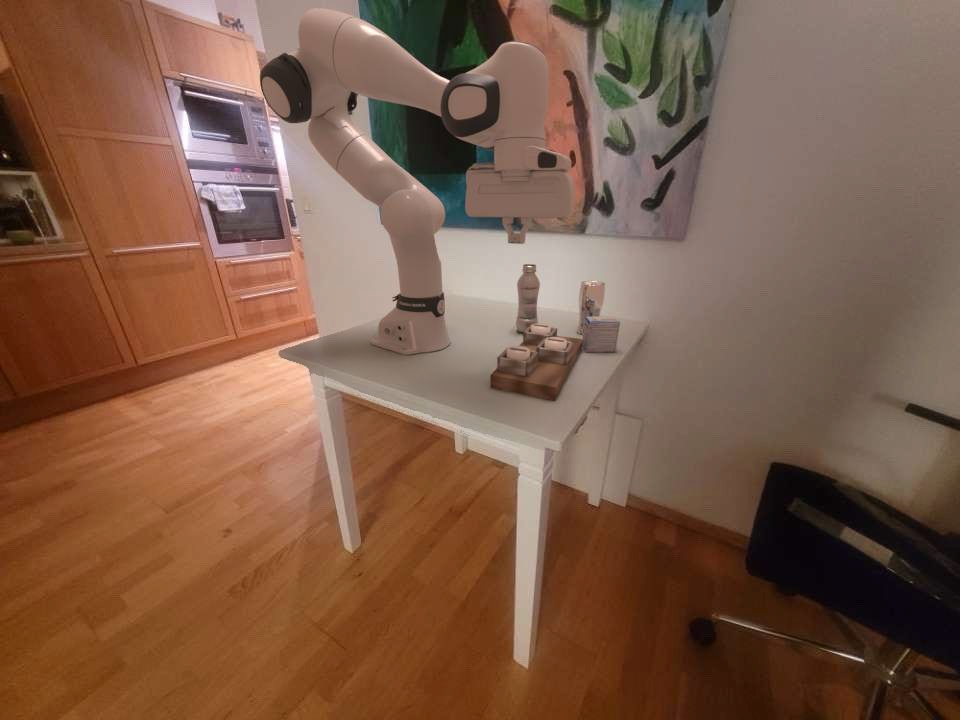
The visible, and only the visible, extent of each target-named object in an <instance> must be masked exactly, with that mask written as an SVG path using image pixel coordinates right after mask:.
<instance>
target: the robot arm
mask: <svg viewBox="0 0 960 720" xmlns="http://www.w3.org/2000/svg"><path fill="white" fill-rule="evenodd" d="M299 21H300V22H299V24H298V33H297V34H298V43H299V48H296V49H295V50H293V51H290V52H287V53H286V52H283V53H282V54H280V55H278V56H275V57H274V58H272V59H271V60H269V62H267V63H266V64H265V65H264V66H263V67H262V69H261V71H260V73H259V84H260V89H261V94H263V95H262V96H263V97H264V100H265V102H266V103H267V104H268V106H269V108H270V109H271V110H272V111H273V112H274V114H276V116H278V117H279V118H280V119H281V120H282V121H284V122H286V123H287V124H301V123H306V122H308V121H309V120H310V121H309V123H308V126H307V127H308V128H307V133H308V134H307V135H308V138H309V141H310V142H311V144H312V145H313V147H314V149H316V151H317V152H318V153H319V155H320V156H321V157H322V158H323V159H324V160H325V162H326V163H327V164H328V165H329V166H330V167H331V168H332V169H333V170H334V171H335V172H336V173H337V175H339V176H340V177H341V178H342V179H344V180H345V181H346V182H347V183H348V184H349V186H351V187H352V188H353V189H354V190H356V192H358V193H359V195H361V196H362V197H363V198H364V199H366V200H367V201H369V202H371V203H373V204H374V205H376V206H377V207H379V208H380V220H381V224H382V226H383V227H384V229H385V230H386V232H387V234H388V236H389V240H390V242H391V246H392V249H393V251H394V257H395V261H396V265H397V272H398V273H397V274H398V281H399V291H400V292H399V294H397V295H394V296H393V297H391V299H393V300H391V301H392V302H396V304H395V307H394V308H392V310H390V311H389V312H388V313H387V314H386V315H384V316H383V317H382V318H381V319H380V320H379V323H378V327H377V331H378V332H377V334H375V335H374V336H373V337H372V338H371V339H370V344H371V345H373V346H376V347H380V348H382V349H385V350H389V351H392V352H394V353H399V354H402V355H406V356H410V355H413V354H414V355H415V354H420V353H431V352H436V351H440V350H442V349H445V348H447V347H448V346H449V345H450V344H451V343H452V342H451V339H450V336H449V333H448V329H447V324H446V318H445V313H446V311H445V309H446V304H445V301H446V300H445V293H444V292H443V278H442V277H443V276H442V275H443V274H442V262H441V259H440V256H439V253H438V248H437V244H436V238H435V234H437V233H438V232H439V231H440V229H441V228H442V226H443V225H444V222H445V221H446V220H445V219H446V210H445V209H446V208H445V206H444V204H443V203H442V201H441V200H440V199H439V198H438V196H436V195H435V194H434V193H433V192H432V191H430V190H429V189H428V188H427V187H426V186H425V185H423V183H421V182H420V181H419V180H417V178H416V177H414V176H413V175H411V174H410V172H408V171H407V170H405V169H404V168H403V167H401V166H400V165H399V164H398V163H397V162H395V160H393V159H392V158H391V157H390V156H389V155H388V154H387V153H386V152H385V151H384V150H383V149H382V148H381V147H380V146H379V145H378V144H377V143H376V142H375V141H373V139H371V138H370V137H369V136H368V135H367V134H366V132H364V131H363V130H362V129H361V128H360V127H358V125H356V124H355V122H354V121H353V120H352V118H351V116H350V114H349V112H352V111H354V110H355V109H356V108H357V106H358V101H357V100H358V98H357V97H359V95H360V96H363V97H365V98H369V99H373V100H378V101H381V102H388V103H392V104H397V105H398V104H399V105H404V106H408V107H409V106H410V107H413V108H418V109H421V110H425V111H427V112H430V113H432V114H434V115H436V116H439V117H440V118H441V120H442V123H443V126H444V127H445V129H446V130H447V131H448V133H450V134H451V135H452V136H454V137H455V138H457V139H459V140H462V141H464V142H467V143H470V144H472V145H475V146H478V147H480V148H482V149H483V150H485V151H489V152H493V157H494V158H493V161H491V162H490V161H489V162H484V163H481V162H475V163H473V164H472V165H471V166H470V167H469V168H468V169H467V170H466V172H465V183H466V191H465V199H464V200H465V204H464V205H465V206H464V209H465V210H464V211H465V213H466V215H467V216H468V217H470V218H502V219H501V220H502V225H503V228H504V230H505V232H506V233H507V243H508V244H519V245H524V244H526V234H527V233H528V231H529V229H530V227H531V226H532V224H533V218H535V219H536V218H537V219H540V218H541V219H543V218H544V219H546V218H547V219H568V218H570V217H571V216H573V214H574V212H575V205H576V203H575V202H576V201H575V200H576V193H575V189H576V188H575V181H574V177H573V175H571V174H570V173H569V171H571V169H572V160H571V158H570V157H569V156H567V155H566V154H563V153H559V152H557V151H555V150H553V149H552V150H551V149H547V147H546V143H547V142H546V141H547V136H546V131H545V123H546V122H545V121H546V118H547V115H548V109H549V67H548V66H549V65H548V60H547V58H546V56H545V54H544V52H543V51H542V50H540V48H538V46H536V45H534V44H531V43H529V42H527V41H526V42H525V41H521V40H511V41H510V40H509V41H507V42H506V41H505V42H504V43H502V44H500V45H499V47H498V48H497V49H496V51H495V52H494V53H493V55H492V56H490V57H489V59H487V60H486V61H484V62H483V63H481V64H480V65H479V66H476V67H475V68H472V69H471V70H469V71H467V72H465V73H463V72H462V73H459V74H457V75H455V76H454V77H452V78H451V79H450V80H449V79H447V78H446V77H443V76H440V75H439V74H437V73H435V72H434V71H432V70H431V69H429V68H428V67H426V66H425V65H424V64H423V63H421V62H420V61H419V60H418V59H417V58H415V57H414V56H413V55H412V54H411V53H410V52H408V51H407V50H406V49H405V48H404V47H402V46H401V45H400V44H398V43H397V42H396V41H395V40H394V39H393V38H391V37H390V36H389V35H387V34H386V33H385V32H383V30H381V29H379V28H378V27H376V26H374V25H373V24H371V23H369V22H367V21H366V20H364V19H361V18H359V17H357V16H355V15H352V14H349V13H346V12H343V11H338V10H335V9H329V8H321V7H314V8H310V9H309V10H307V11H306V12H305V13H303V15H302V16H301V19H300V20H299ZM514 218H521V219H520V220H521V221H520V224H522V228H521V229H520V232H519V233H518V232H514V228H513V227H512V224H514Z"/></svg>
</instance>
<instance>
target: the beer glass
mask: <svg viewBox="0 0 960 720" xmlns="http://www.w3.org/2000/svg"><path fill="white" fill-rule="evenodd" d="M605 286H606V283H605V282H602V281H600V280H599V281H598V280H597V281H596V280H585V281H581V283H580V289H579V294H578V295H579V296H578V312H579V320H578V321H579V322H578V326H577V328H576V329H577V330H576V332H577V333H578V334H579V335H581V336H583V332H584V323H585V317H600V316H601V311H602V308H603V305H604V300H605V293H606V291H605V289H606V288H605Z"/></svg>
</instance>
